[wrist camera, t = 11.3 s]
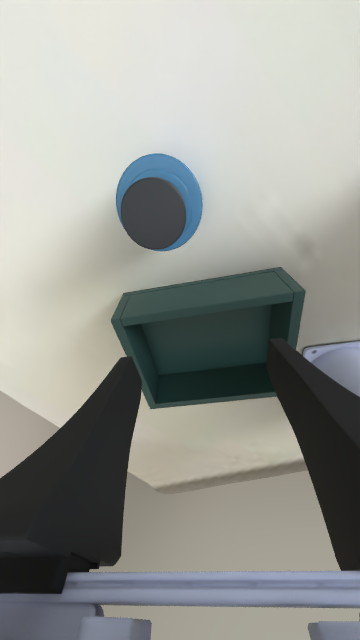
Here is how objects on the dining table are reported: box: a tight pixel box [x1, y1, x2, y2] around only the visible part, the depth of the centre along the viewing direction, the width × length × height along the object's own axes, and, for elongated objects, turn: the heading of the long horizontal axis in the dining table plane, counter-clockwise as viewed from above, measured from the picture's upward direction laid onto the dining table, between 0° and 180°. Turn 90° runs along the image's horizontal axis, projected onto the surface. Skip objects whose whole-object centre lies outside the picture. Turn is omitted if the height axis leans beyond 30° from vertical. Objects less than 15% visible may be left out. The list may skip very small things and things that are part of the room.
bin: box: [111, 267, 305, 409], centre depth 21 cm, size 15×12×5 cm
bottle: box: [116, 154, 202, 251], centre depth 12 cm, size 5×5×8 cm
